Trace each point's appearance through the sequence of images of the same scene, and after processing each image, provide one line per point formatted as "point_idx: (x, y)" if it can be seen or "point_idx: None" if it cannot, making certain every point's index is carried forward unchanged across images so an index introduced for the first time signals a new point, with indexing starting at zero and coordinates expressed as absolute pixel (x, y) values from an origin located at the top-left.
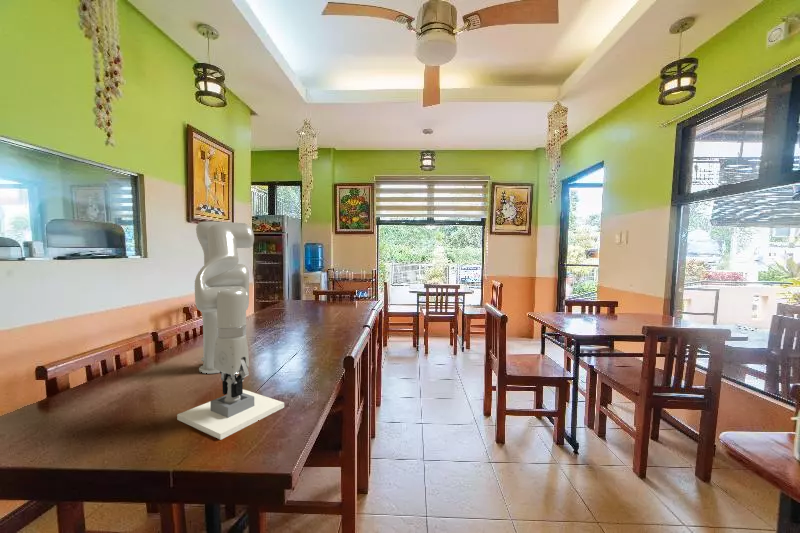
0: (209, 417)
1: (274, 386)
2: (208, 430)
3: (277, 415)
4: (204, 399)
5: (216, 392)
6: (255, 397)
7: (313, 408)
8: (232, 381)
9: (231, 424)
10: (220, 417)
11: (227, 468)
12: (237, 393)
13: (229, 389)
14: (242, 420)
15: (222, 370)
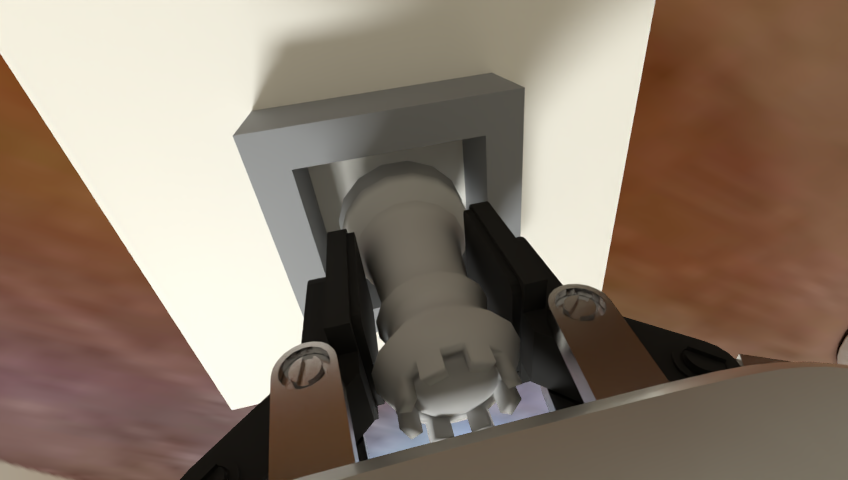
0: (377, 4)
1: (507, 415)
2: None
3: (156, 338)
4: (721, 144)
5: (722, 225)
6: None
7: (120, 461)
8: (379, 357)
9: (87, 72)
10: (307, 71)
11: None
12: (311, 286)
13: (407, 264)
14: (116, 165)
15: (545, 465)
